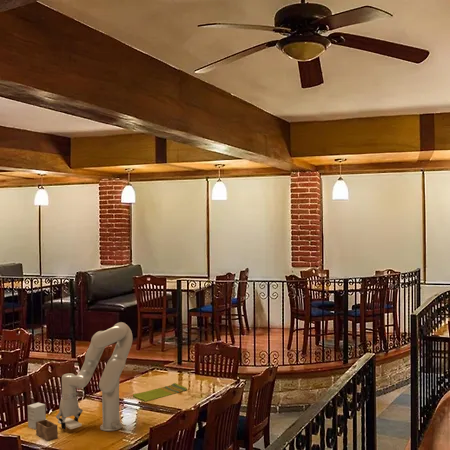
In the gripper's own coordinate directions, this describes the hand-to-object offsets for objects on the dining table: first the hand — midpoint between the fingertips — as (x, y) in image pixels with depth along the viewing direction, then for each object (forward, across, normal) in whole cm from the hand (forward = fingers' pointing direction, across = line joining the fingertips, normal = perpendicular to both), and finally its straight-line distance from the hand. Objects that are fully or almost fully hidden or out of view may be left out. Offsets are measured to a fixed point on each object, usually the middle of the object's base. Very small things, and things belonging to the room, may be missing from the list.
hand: (69, 427), depth 319 cm
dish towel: (+2, -76, -18) cm, 78 cm away
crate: (+1, +14, 0) cm, 14 cm away
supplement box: (+2, +11, -19) cm, 22 cm away
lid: (-2, 0, 0) cm, 2 cm away
